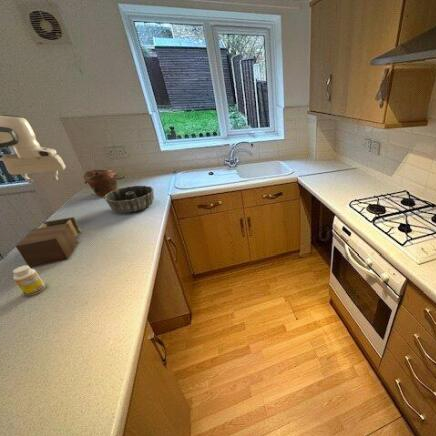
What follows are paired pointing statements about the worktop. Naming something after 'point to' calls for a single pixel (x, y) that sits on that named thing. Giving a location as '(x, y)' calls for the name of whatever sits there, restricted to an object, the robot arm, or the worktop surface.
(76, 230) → the drawer
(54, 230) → the brown box
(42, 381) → the worktop surface
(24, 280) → the supplement bottle
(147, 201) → the bundt pan
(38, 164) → the robot arm
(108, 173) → the terracotta flower pot
